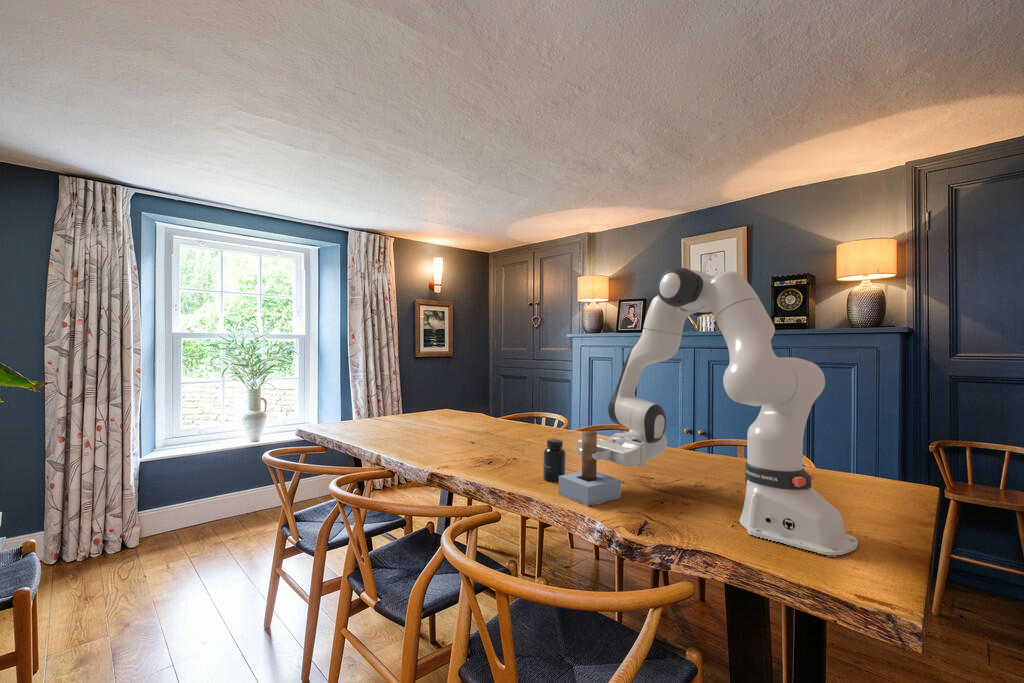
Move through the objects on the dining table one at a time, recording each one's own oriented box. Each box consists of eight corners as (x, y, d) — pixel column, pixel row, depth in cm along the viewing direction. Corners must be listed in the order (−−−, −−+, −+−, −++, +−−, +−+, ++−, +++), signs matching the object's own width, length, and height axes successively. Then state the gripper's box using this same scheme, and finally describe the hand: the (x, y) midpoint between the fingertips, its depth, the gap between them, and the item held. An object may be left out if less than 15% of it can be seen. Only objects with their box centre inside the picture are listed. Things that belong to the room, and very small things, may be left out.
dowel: (599, 483, 126) (599, 432, 126) (588, 485, 124) (588, 434, 124) (589, 479, 130) (589, 430, 130) (578, 482, 128) (579, 431, 128)
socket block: (620, 498, 125) (620, 480, 125) (587, 506, 118) (588, 487, 118) (590, 487, 135) (590, 469, 135) (558, 493, 128) (558, 475, 129)
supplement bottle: (541, 481, 140) (541, 442, 141) (545, 475, 147) (545, 437, 147) (563, 483, 139) (564, 443, 139) (566, 477, 145) (566, 438, 146)
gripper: (597, 431, 143) (562, 436, 135) (649, 444, 126) (613, 450, 118) (597, 452, 143) (562, 457, 135) (649, 467, 126) (613, 474, 118)
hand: (586, 454), depth 127 cm, fingers closed on dowel, 4 cm apart
